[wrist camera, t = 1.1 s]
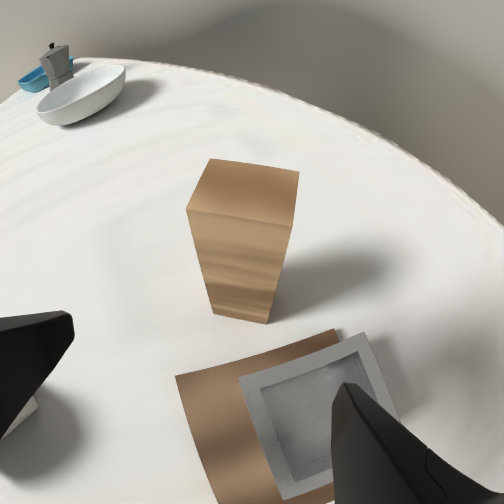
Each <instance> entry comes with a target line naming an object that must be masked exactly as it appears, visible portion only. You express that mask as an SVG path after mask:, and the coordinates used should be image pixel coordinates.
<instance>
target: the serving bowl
mask: <svg viewBox="0 0 504 504" xmlns="http://www.w3.org/2000/svg"><path fill="white" fill-rule="evenodd" d="M125 75H126V74H125V67H124V66H122V65H109V66H104V67H100V68H96V69H93V70H90V71H87V72H85V73H82V74H80V75H78V76H76V77H74V78H72V79H70V80H68V81H66V82H65V83H63V84H61V85H60V86H58V87H57V88H55V89H54V90H52V91H51V92H50V93H49V94H48V95H46V96H45V97H44V98H43V99H42V100H41V101H40V103H39V104H38V106H37V108H36V112H37V114H38V116H39V117H40V118H41V119H42V120H43V121H44V122H45V123H47V124H50V125H55V126H60V125H67V124H71V123H74V122H77V121H80V120H82V119H84V118H86V117H88V116H91V115H92V114H94V113H96V112H98V111H99V110H101V109H102V108H104V107H105V106H107V105H108V104H109V103H110V102H112V101H113V100H114V99H115V98H116V97H117V95H118V94H119V93H120V91H121V90H122V88H123V85H124V82H125Z"/></svg>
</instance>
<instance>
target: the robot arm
mask: <svg viewBox="0 0 504 504" xmlns="http://www.w3.org/2000/svg"><path fill="white" fill-rule="evenodd" d="M74 337H75V333H74V326H73V319H72V316H71V315H70V314H69V313H67V312H65V311H62V310H61V311H53V312H45V313H37V314H29V315H21V316H12V317H3V318H0V440H1V439H2V437H3V436H4V434H5V433H6V431H7V430H8V429H9V427H10V426H11V424H12V423H13V421H14V420H15V419H16V417H17V416H18V415H19V413H20V412H21V410H22V409H23V408H24V406H25V405H26V404H27V402H28V401H29V400H30V399H31V397H32V396H33V395H34V393H35V392H36V391H37V389H38V388H39V387H40V386H41V384H42V383H43V382H44V381H45V379H46V378H47V377H48V376H49V375H50V373H51V372H52V371H53V369H54V368H55V367H56V365H57V364H58V362H59V361H60V359H61V358H62V356H63V355H64V353H65V352H66V350H67V349H68V347H69V346H70V345H71V343H72V342H73V340H74ZM331 459H332V470H333V483H334V499H335V504H504V493H497V492H493V491H490V490H488V489H486V488H485V487H483V486H482V485H480V484H478V483H477V482H475V481H473V480H472V479H470V478H469V477H467V476H466V475H464V474H462V473H461V472H459V471H458V470H457V469H455V468H454V467H452V466H451V465H449V464H448V463H447V462H446V461H444V460H443V459H442V458H440V457H439V456H438V455H437V454H436V453H434V452H433V451H432V450H431V449H430V448H428V447H427V446H426V445H425V444H424V443H423V442H421V441H420V440H419V439H418V438H417V437H416V436H414V435H413V434H412V433H411V432H410V431H409V430H408V429H406V428H405V427H404V426H403V425H402V424H401V423H400V422H398V421H397V420H396V419H395V418H394V417H393V416H392V415H391V414H389V413H388V412H387V411H386V410H385V409H384V408H383V407H382V406H380V405H379V404H378V403H377V402H376V401H375V400H374V399H373V398H372V397H370V396H369V395H368V394H367V393H366V392H365V391H364V390H363V389H362V388H361V387H359V386H358V385H357V384H356V383H349V382H344V383H342V384H341V385H340V387H339V390H338V392H337V394H336V396H335V398H334V401H333V403H332V417H331Z"/></svg>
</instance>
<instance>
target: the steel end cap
mask: <svg viewBox="0 0 504 504" xmlns="http://www.w3.org/2000/svg"><path fill="white" fill-rule="evenodd" d="M238 381H239V385H240V388H241V391H242V394H243V397H244V400H245V403H246V406H247V409H248V412H249V415H250V418H251V421H252V423H253V426H254V429H255V432H256V435H257V437H258V440H259V443H260V445H261V448H262V451H263V453H264V456H265V459H266V461H267V464H268V466H269V469H270V471H271V474H272V476H273V479H274V481H275V484H276V486H277V488H278V490H279V492H280V494H281V497H282V499H283V500H286V499H289V498H292V497H295V496H298V495H301V494H304V493H306V492H309V491H311V490H314V489H317V488H319V487H321V486H324V485H326V484H329V483H331V482H333V470H332V459H331V417H332V403H333V401H334V398H335V396H336V394H337V392H338V390H339V387H340V385H341V384H342V383H344V382H349V383H356V384H357V385H358V386H359V387H361V388H362V389H363V390H364V391H365V392H366V393H367V394H368V395H369V396H370V397H372V398H373V399H374V400H375V401H376V402H377V403H378V404H379V405H380V406H382V407H383V408H384V409H385V410H386V411H387V412H388V413H389V414H391V415H392V416H393V417H394V418H395V419H396V420H397V421H398V422H400V420H399V417H398V414H397V411H396V409H395V406H394V403H393V400H392V398H391V395H390V392H389V390H388V387H387V385H386V382H385V380H384V377H383V375H382V372H381V370H380V367H379V365H378V362H377V360H376V358H375V355H374V353H373V350H372V348H371V346H370V344H369V341H368V339H367V337H366V334H365V332H362V333H360V334H358V335H355V336H353V337H351V338H348V339H346V340H344V341H341V342H339V343H337V344H334V345H332V346H329V347H327V348H324V349H322V350H319V351H316V352H314V353H311V354H309V355H306V356H303V357H300V358H298V359H295V360H292V361H289V362H286V363H283V364H280V365H277V366H274V367H271V368H268V369H265V370H262V371H258V372H255V373H252V374H248V375H245V376H241V377H238Z"/></svg>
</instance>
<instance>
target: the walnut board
mask: <svg viewBox="0 0 504 504" xmlns="http://www.w3.org/2000/svg"><path fill="white" fill-rule="evenodd" d="M337 343H339V340H338V337H337V335H336V332H335V330H334V328H333V329H330V330H328V331H325V332H323V333H320V334H317V335H315V336H312V337H309V338H306V339H304V340H301V341H298V342H295V343H292V344H289V345H286V346H283V347H280V348H277V349H274V350H271V351H268V352H265V353H261V354H258V355H255V356H251V357H248V358H244V359H241V360H237V361H234V362H230V363H227V364H223V365H219V366H215V367H211V368H207V369H203V370H199V371H195V372H190V373H186V374H181V375H177V376H175V378H176V382H177V386H178V390H179V393H180V397H181V401H182V404H183V408H184V411H185V414H186V418H187V421H188V424H189V427H190V430H191V433H192V436H193V439H194V442H195V445H196V448H197V451H198V454H199V457H200V459H201V462H202V465H203V467H204V470H205V473H206V475H207V478H208V480H209V483H210V485H211V488H212V490H213V492H214V495H215V497H216V499H217V502H218V504H326V503H329V502H331V501H333V500H335V499H334V483H333V482H331V483H329V484H326V485H324V486H321V487H319V488H317V489H314V490H311V491H309V492H306V493H304V494H301V495H298V496H295V497H292V498H289V499H286V500H283V499H282V497H281V494H280V492H279V490H278V488H277V486H276V484H275V481H274V479H273V476H272V474H271V471H270V469H269V466H268V464H267V461H266V459H265V456H264V453H263V451H262V448H261V445H260V443H259V440H258V437H257V435H256V432H255V429H254V426H253V423H252V421H251V418H250V415H249V412H248V409H247V406H246V403H245V400H244V397H243V394H242V391H241V388H240V385H239V381H238V377H241V376H245V375H248V374H252V373H255V372H258V371H262V370H265V369H268V368H271V367H274V366H277V365H280V364H283V363H286V362H289V361H292V360H295V359H298V358H300V357H303V356H306V355H309V354H311V353H314V352H316V351H319V350H322V349H324V348H327V347H329V346H332V345H334V344H337Z"/></svg>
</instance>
